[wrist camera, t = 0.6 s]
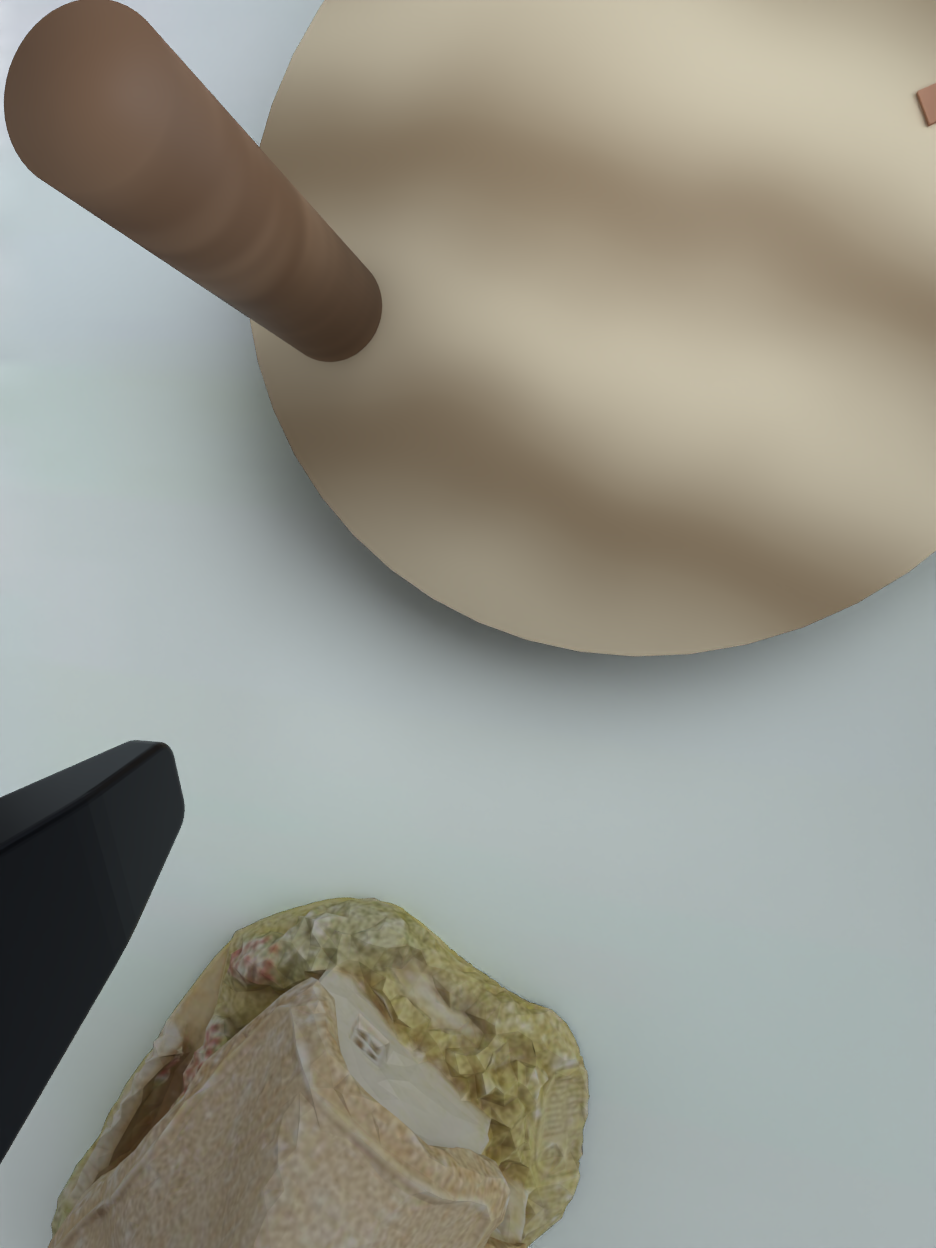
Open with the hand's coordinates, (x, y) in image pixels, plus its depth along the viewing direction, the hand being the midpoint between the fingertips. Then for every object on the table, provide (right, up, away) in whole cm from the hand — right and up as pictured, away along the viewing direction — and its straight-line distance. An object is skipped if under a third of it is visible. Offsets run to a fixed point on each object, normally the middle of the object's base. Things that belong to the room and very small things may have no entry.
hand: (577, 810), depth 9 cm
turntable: (+3, +10, +11) cm, 16 cm away
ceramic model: (-5, -12, +16) cm, 20 cm away
